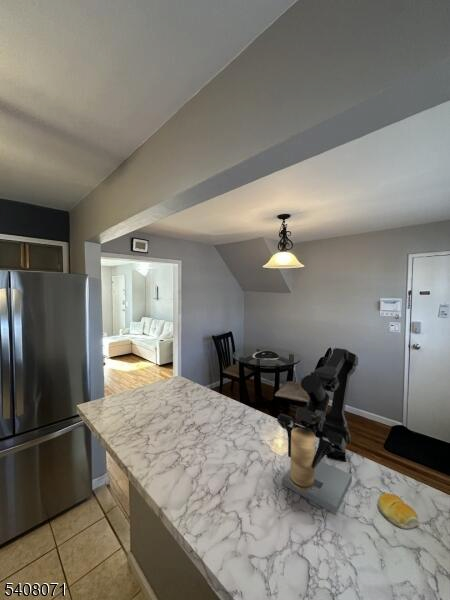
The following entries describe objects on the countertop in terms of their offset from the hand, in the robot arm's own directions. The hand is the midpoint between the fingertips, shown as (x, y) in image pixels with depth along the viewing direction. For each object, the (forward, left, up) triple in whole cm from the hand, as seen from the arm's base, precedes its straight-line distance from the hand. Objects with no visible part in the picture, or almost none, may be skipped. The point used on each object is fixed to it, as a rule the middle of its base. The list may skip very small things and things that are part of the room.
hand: (300, 462), depth 68 cm
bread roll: (-25, -8, -14) cm, 30 cm away
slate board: (-5, -13, -13) cm, 19 cm away
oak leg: (0, -1, -8) cm, 8 cm away
